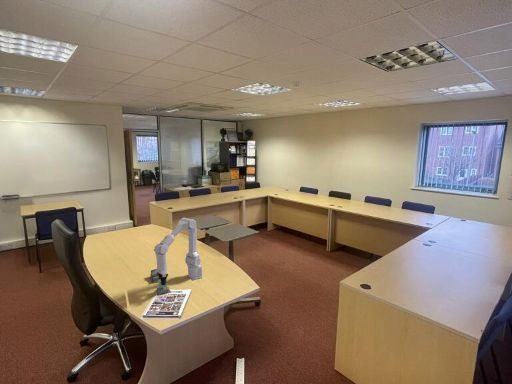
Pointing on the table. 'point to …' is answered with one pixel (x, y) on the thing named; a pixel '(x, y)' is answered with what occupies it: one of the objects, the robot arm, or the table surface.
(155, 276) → the stone block
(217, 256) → the table surface
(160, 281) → the teal block
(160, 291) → the tower mid
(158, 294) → the tower base
